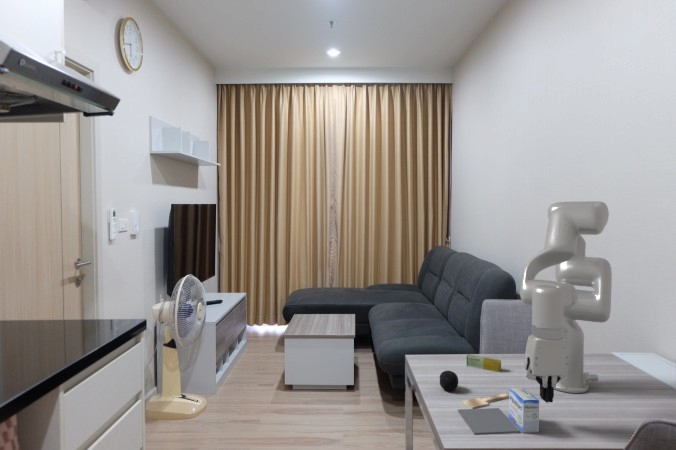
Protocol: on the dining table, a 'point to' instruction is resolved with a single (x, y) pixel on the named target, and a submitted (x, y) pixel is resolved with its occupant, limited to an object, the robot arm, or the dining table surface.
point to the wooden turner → (484, 400)
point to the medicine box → (524, 410)
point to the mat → (488, 421)
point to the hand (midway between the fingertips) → (546, 400)
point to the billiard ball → (448, 380)
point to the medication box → (484, 363)
